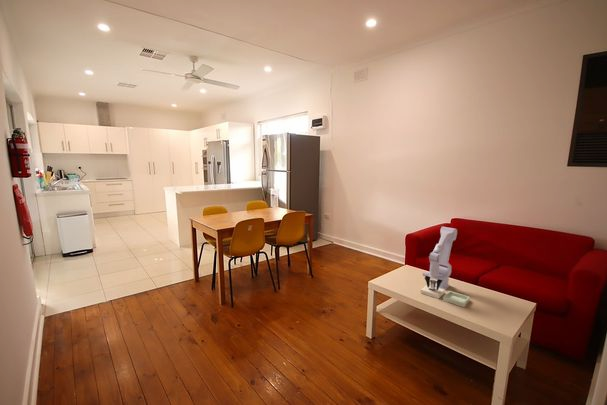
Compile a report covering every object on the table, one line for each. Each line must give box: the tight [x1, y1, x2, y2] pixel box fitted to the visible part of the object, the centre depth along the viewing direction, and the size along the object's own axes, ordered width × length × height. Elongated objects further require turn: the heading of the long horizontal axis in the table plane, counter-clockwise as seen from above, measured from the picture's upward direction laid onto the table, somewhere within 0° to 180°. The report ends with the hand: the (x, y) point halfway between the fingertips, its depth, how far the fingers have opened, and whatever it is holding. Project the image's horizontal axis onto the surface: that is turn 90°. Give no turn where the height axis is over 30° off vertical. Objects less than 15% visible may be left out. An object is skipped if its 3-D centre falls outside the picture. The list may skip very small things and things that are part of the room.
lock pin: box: [430, 279, 437, 291], centre depth 191 cm, size 4×4×9 cm
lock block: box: [420, 284, 446, 300], centre depth 191 cm, size 12×12×2 cm
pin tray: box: [442, 290, 471, 308], centre depth 181 cm, size 13×13×2 cm
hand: (432, 288), depth 191 cm, fingers open, 5 cm apart
